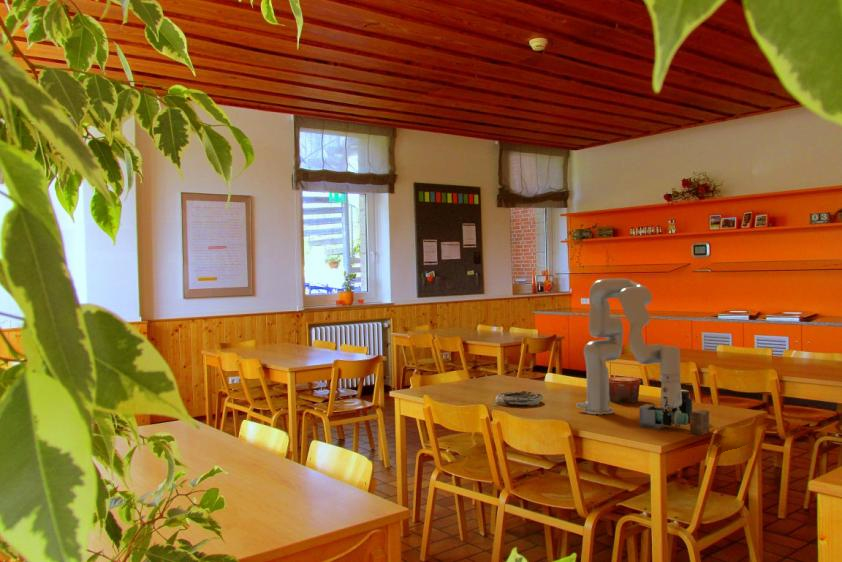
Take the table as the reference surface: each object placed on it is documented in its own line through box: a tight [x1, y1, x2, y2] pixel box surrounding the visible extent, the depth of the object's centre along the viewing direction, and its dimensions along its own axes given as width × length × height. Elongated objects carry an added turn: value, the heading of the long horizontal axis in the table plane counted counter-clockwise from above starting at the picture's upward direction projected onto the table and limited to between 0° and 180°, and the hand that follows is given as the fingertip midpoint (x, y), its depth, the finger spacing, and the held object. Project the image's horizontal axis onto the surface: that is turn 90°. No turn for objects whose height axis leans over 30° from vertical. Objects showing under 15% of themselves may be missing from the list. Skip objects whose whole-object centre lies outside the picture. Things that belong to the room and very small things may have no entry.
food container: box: [609, 376, 642, 404], centre depth 338 cm, size 16×16×11 cm
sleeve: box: [638, 403, 668, 430], centre depth 284 cm, size 8×7×8 cm
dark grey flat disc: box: [492, 390, 544, 407], centre depth 339 cm, size 28×27×5 cm
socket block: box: [689, 409, 710, 436], centre depth 272 cm, size 4×8×8 cm, turn 139°
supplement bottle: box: [679, 389, 694, 422], centre depth 295 cm, size 7×7×12 cm
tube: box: [649, 409, 689, 428], centre depth 281 cm, size 16×6×6 cm, turn 49°
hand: (671, 422), depth 280 cm, fingers open, 6 cm apart
